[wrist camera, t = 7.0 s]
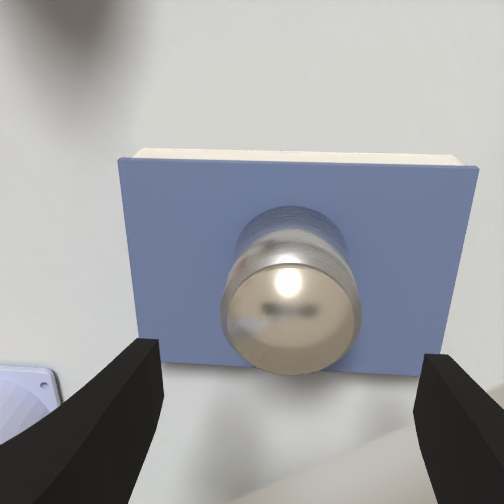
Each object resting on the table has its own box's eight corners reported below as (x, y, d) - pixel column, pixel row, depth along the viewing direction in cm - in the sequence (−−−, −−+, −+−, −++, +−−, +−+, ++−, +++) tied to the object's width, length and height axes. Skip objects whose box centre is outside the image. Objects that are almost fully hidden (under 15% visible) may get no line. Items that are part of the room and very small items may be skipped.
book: (419, 338, 25) (434, 377, 23) (157, 325, 26) (141, 360, 24) (455, 149, 21) (479, 168, 18) (139, 142, 22) (117, 160, 19)
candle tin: (346, 307, 21) (360, 383, 17) (238, 307, 22) (223, 381, 17) (349, 203, 19) (367, 258, 15) (230, 206, 20) (211, 260, 15)
